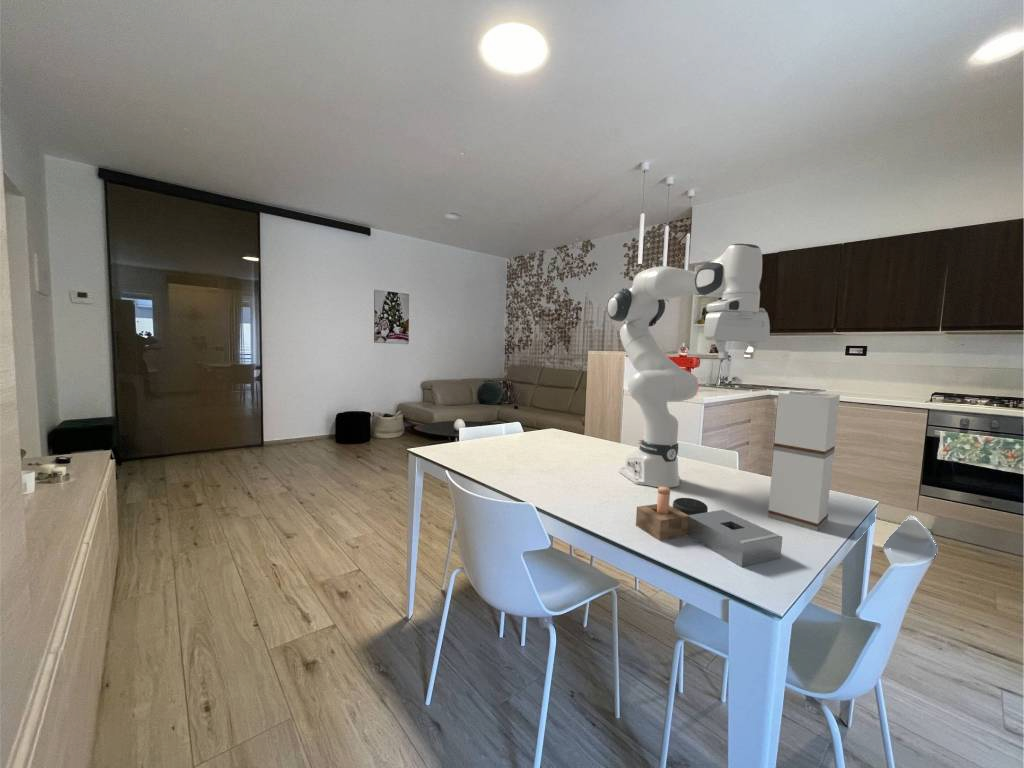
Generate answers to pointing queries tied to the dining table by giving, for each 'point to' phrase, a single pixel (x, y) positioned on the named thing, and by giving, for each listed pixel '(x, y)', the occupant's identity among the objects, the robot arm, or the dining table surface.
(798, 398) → the white tall box
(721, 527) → the dock
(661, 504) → the pin
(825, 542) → the dining table surface
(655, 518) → the mount
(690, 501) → the smart speaker
